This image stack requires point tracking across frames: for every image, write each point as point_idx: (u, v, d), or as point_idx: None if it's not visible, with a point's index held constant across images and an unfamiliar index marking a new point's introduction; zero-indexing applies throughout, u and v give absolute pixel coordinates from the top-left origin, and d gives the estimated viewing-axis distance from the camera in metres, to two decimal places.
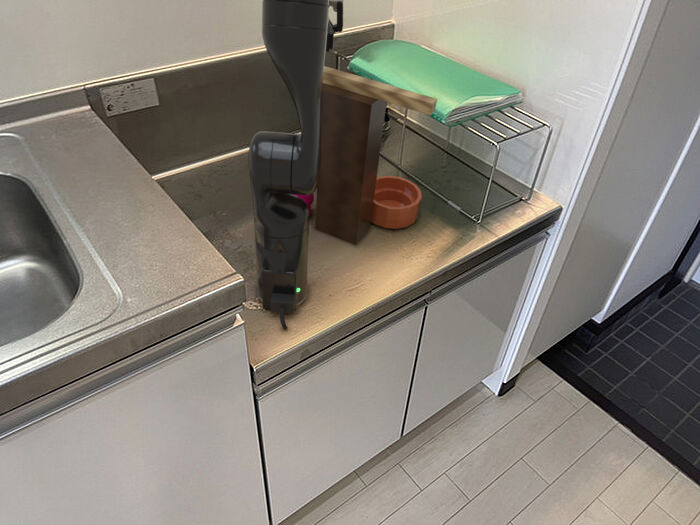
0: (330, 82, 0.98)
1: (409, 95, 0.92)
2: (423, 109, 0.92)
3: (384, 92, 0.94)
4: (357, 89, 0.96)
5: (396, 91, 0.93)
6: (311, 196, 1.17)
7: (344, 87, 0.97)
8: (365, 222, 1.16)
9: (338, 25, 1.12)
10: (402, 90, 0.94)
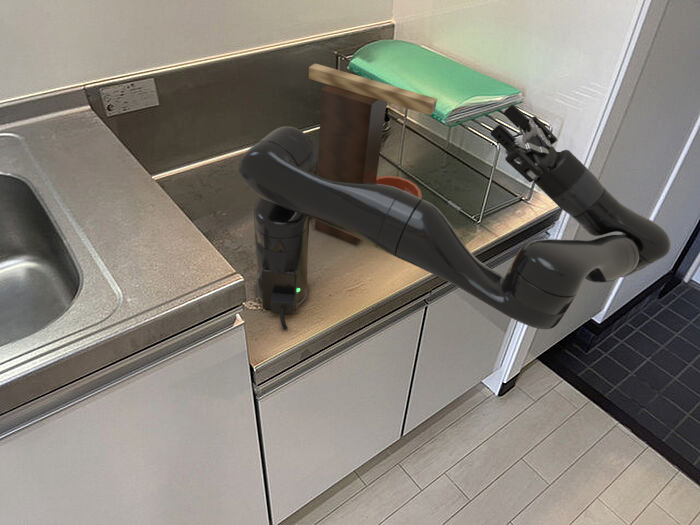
0: (330, 82, 0.98)
1: (409, 95, 0.92)
2: (423, 109, 0.92)
3: (384, 92, 0.94)
4: (357, 89, 0.96)
5: (396, 91, 0.93)
6: None
7: (344, 87, 0.97)
8: None
9: None
10: (402, 90, 0.94)
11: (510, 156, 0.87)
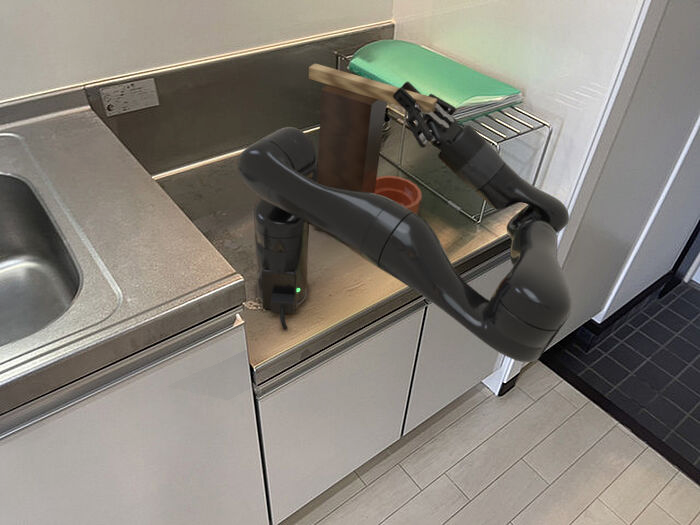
0: (330, 82, 0.98)
1: None
2: None
3: (384, 92, 0.94)
4: (357, 89, 0.96)
5: None
6: None
7: (344, 87, 0.97)
8: None
9: None
10: None
11: (409, 116, 0.91)
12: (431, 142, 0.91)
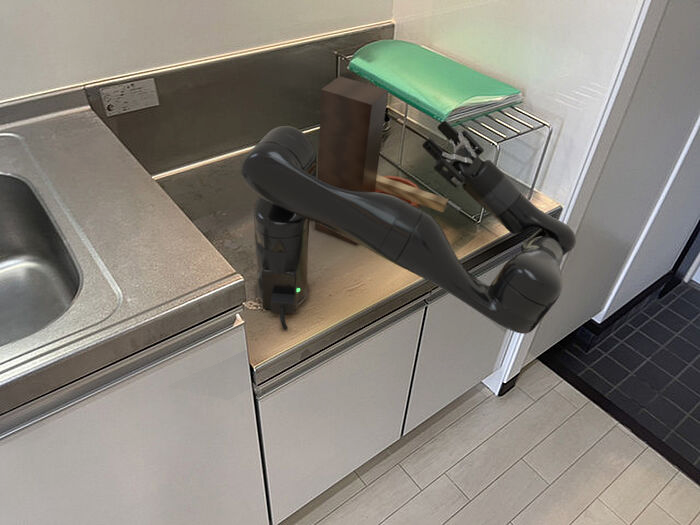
0: None
1: (426, 196, 1.16)
2: (437, 207, 1.16)
3: (406, 193, 1.18)
4: (384, 188, 1.20)
5: (415, 192, 1.17)
6: None
7: None
8: None
9: None
10: (420, 191, 1.17)
11: (437, 165, 1.03)
12: None
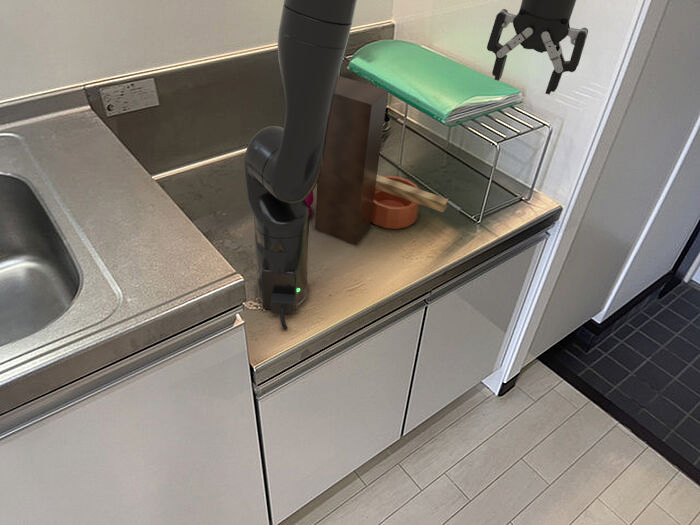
0: None
1: (426, 196, 1.16)
2: (437, 207, 1.16)
3: (406, 193, 1.18)
4: (384, 188, 1.20)
5: (415, 192, 1.17)
6: (311, 196, 1.17)
7: None
8: (365, 222, 1.16)
9: (571, 63, 0.83)
10: (420, 191, 1.17)
11: None
12: (509, 14, 0.84)
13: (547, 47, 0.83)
